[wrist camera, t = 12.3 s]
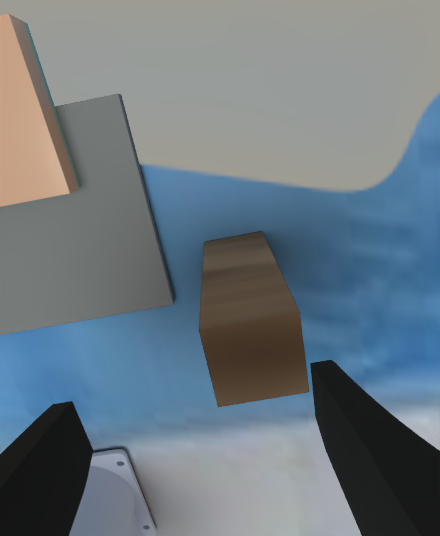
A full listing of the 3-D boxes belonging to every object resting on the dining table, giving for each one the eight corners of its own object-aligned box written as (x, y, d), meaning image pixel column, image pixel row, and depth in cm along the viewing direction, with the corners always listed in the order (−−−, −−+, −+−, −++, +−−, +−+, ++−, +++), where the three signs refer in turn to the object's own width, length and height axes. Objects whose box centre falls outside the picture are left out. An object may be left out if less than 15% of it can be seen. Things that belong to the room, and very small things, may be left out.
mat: (174, 299, 21) (173, 304, 20) (-52, 339, 21) (-60, 345, 21) (121, 94, 17) (118, 93, 16) (-157, 151, 17) (-170, 152, 17)
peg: (269, 283, 21) (309, 392, 12) (215, 293, 21) (218, 407, 12) (261, 230, 19) (299, 312, 11) (204, 241, 20) (198, 329, 11)
